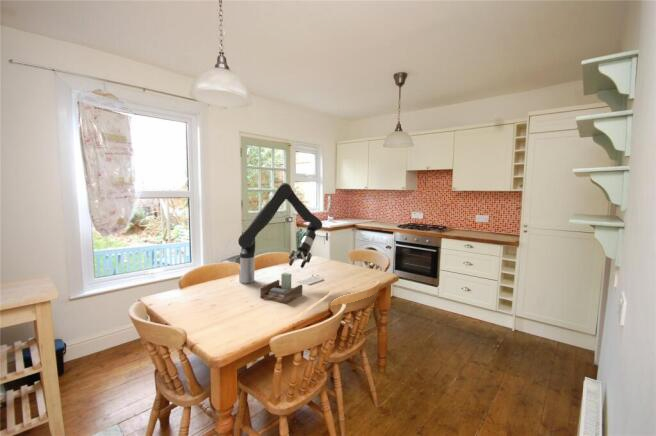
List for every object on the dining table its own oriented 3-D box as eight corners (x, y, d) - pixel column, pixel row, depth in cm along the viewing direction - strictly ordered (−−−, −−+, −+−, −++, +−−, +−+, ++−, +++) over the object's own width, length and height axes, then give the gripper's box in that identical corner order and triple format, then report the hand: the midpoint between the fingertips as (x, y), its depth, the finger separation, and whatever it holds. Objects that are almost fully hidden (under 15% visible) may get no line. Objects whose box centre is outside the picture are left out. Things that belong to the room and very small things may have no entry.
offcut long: (267, 297, 163) (267, 292, 163) (273, 294, 168) (273, 290, 167) (284, 301, 158) (284, 296, 157) (290, 298, 162) (290, 293, 162)
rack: (260, 299, 162) (260, 287, 161) (277, 291, 176) (277, 279, 175) (286, 306, 154) (286, 293, 153) (302, 296, 168) (302, 284, 167)
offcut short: (269, 293, 162) (269, 289, 162) (273, 290, 166) (273, 287, 166) (283, 295, 159) (283, 292, 159) (287, 293, 163) (287, 289, 163)
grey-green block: (281, 293, 169) (281, 274, 167) (284, 292, 171) (284, 272, 170) (288, 295, 166) (288, 275, 165) (291, 293, 169) (291, 274, 168)
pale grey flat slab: (278, 288, 183) (291, 292, 176) (278, 283, 183) (291, 288, 175) (311, 277, 207) (323, 281, 199) (311, 273, 207) (324, 277, 199)
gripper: (294, 240, 185) (283, 261, 176) (313, 242, 179) (303, 264, 170) (298, 247, 191) (288, 267, 182) (317, 249, 184) (307, 271, 175)
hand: (295, 266), depth 176 cm, fingers open, 8 cm apart
